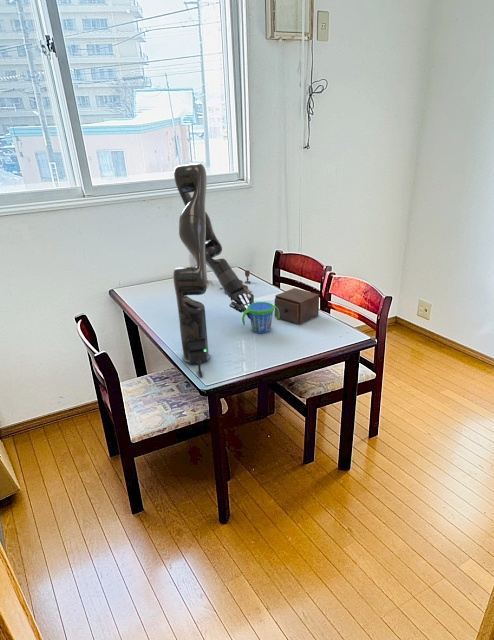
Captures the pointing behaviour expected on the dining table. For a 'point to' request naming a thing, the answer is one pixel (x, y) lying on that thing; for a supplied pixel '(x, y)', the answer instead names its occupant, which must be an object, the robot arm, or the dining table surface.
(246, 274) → the place setting
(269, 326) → the snack cup
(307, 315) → the cabinet
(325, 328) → the dining table surface
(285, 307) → the drawer
